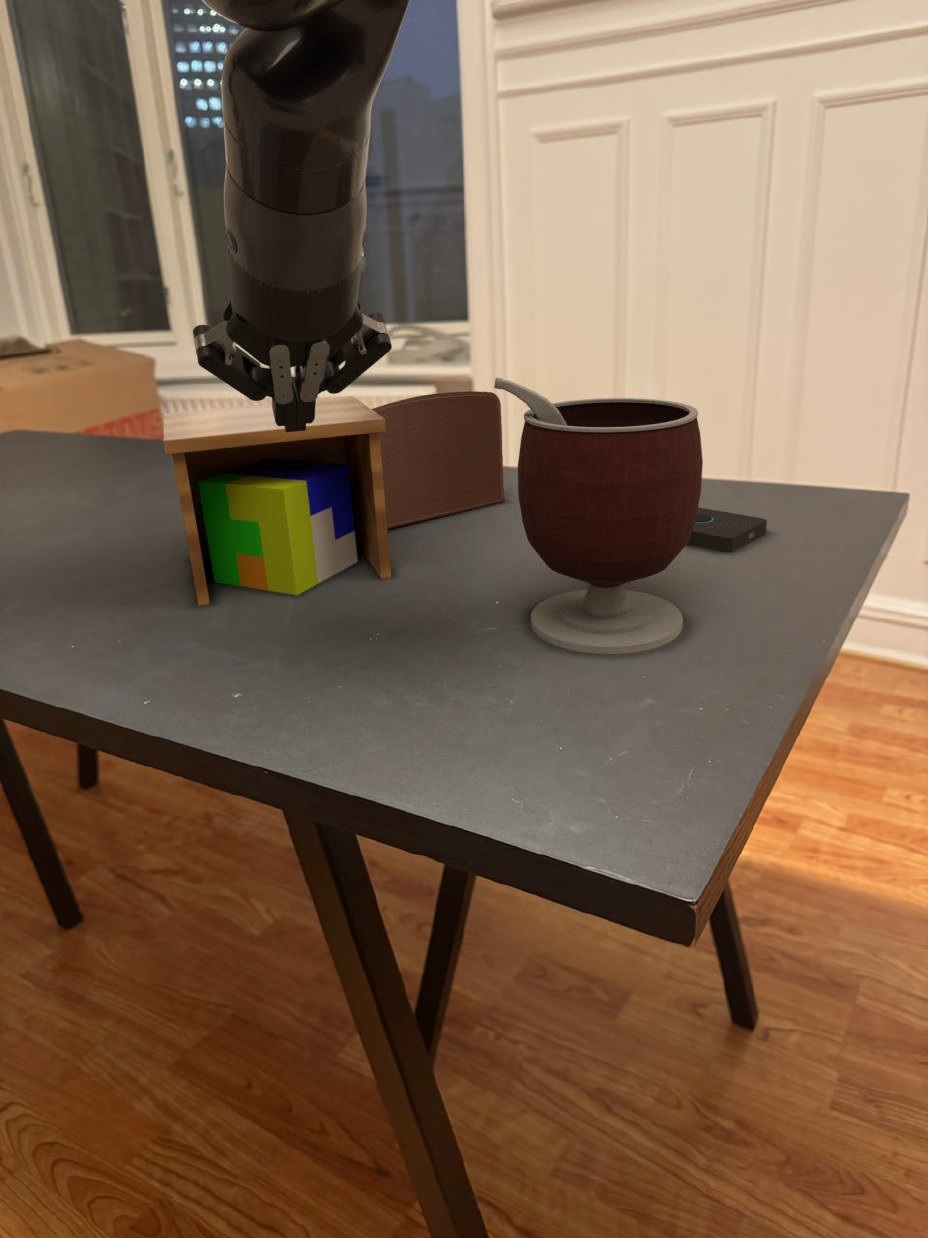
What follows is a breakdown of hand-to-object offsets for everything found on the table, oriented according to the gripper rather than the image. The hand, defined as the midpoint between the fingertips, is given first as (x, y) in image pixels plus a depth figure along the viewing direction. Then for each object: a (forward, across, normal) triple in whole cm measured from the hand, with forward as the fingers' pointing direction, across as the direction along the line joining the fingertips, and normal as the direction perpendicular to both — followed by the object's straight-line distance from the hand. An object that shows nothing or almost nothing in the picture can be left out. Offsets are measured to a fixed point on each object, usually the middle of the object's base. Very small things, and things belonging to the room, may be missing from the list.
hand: (292, 421), depth 65 cm
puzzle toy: (+26, 0, 0) cm, 26 cm away
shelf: (+27, 0, -1) cm, 27 cm away
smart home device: (+24, -40, +2) cm, 47 cm away
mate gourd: (+9, -22, +16) cm, 29 cm away
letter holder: (+37, -17, -12) cm, 42 cm away
